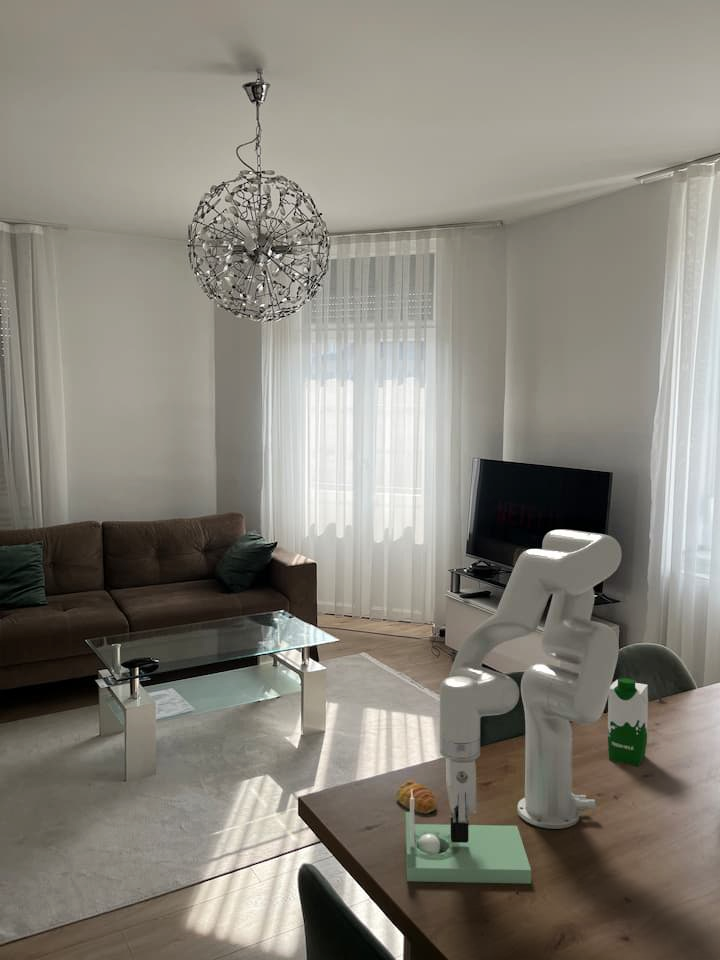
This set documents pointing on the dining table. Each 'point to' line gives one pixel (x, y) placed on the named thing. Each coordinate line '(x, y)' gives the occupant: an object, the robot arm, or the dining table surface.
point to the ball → (429, 844)
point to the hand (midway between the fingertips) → (459, 839)
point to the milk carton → (627, 721)
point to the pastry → (416, 797)
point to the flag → (412, 820)
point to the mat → (468, 855)
